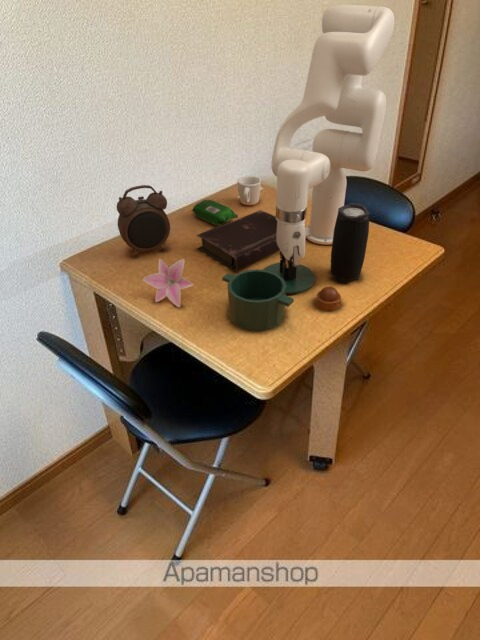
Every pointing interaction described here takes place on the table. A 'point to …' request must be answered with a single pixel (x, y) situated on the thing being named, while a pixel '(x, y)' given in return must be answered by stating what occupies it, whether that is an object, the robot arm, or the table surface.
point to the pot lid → (302, 280)
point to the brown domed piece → (328, 299)
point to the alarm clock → (143, 221)
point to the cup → (249, 189)
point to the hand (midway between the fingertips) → (287, 275)
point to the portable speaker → (349, 242)
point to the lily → (169, 281)
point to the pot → (256, 299)
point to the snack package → (213, 212)
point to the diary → (242, 240)
